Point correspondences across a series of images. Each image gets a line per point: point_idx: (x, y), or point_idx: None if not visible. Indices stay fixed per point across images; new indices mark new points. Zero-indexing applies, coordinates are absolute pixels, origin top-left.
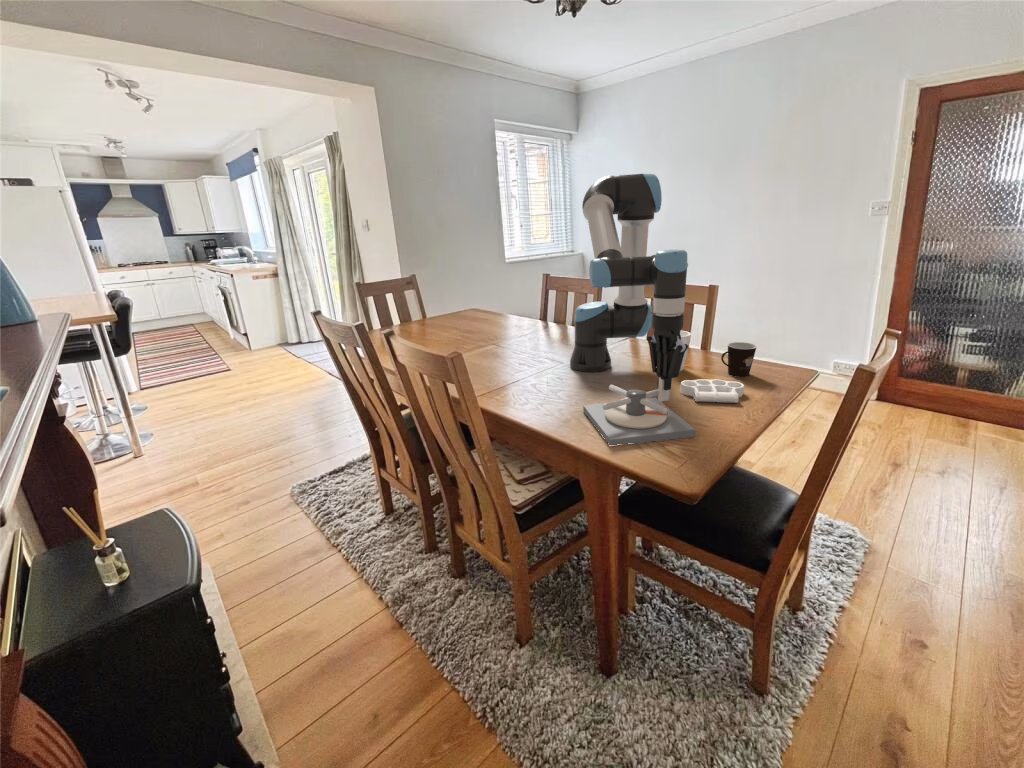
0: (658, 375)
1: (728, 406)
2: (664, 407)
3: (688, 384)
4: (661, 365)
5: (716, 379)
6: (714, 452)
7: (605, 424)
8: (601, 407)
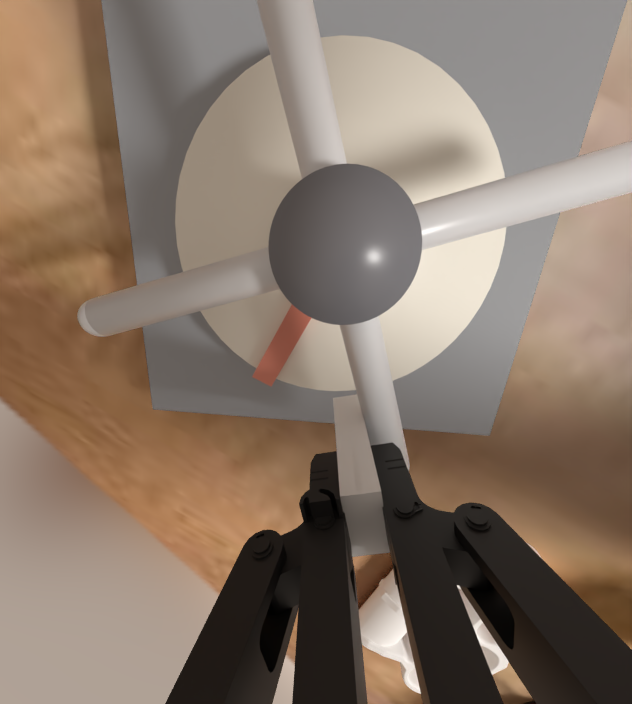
0: (395, 503)
1: None
2: (96, 323)
3: None
4: (408, 622)
5: (501, 668)
6: (52, 389)
7: None
8: (529, 106)
